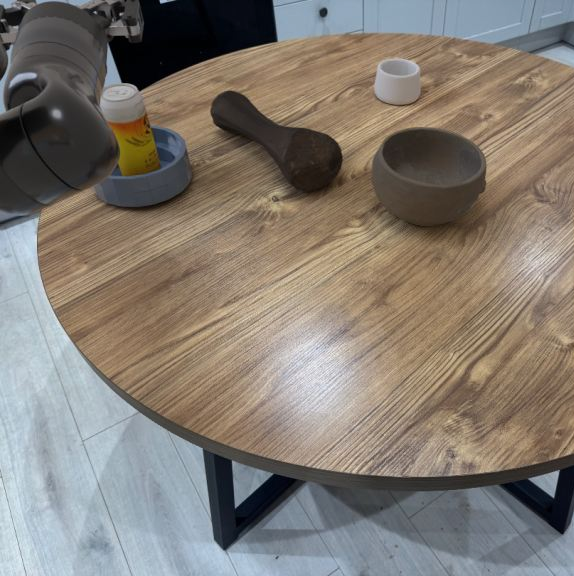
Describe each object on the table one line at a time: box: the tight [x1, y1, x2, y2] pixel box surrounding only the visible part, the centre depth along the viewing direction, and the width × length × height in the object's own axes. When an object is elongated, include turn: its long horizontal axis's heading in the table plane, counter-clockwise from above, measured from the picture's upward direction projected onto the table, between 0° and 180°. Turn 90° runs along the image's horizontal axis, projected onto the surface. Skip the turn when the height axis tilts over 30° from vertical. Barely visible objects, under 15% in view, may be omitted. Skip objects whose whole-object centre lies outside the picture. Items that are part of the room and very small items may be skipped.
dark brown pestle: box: [209, 90, 343, 193], centre depth 98 cm, size 11×10×28 cm
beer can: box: [100, 82, 161, 176], centre depth 88 cm, size 6×6×15 cm
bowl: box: [370, 126, 488, 227], centre depth 89 cm, size 17×18×10 cm
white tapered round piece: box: [373, 58, 422, 106], centre depth 118 cm, size 12×10×6 cm
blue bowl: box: [91, 125, 193, 208], centre depth 91 cm, size 15×15×6 cm
